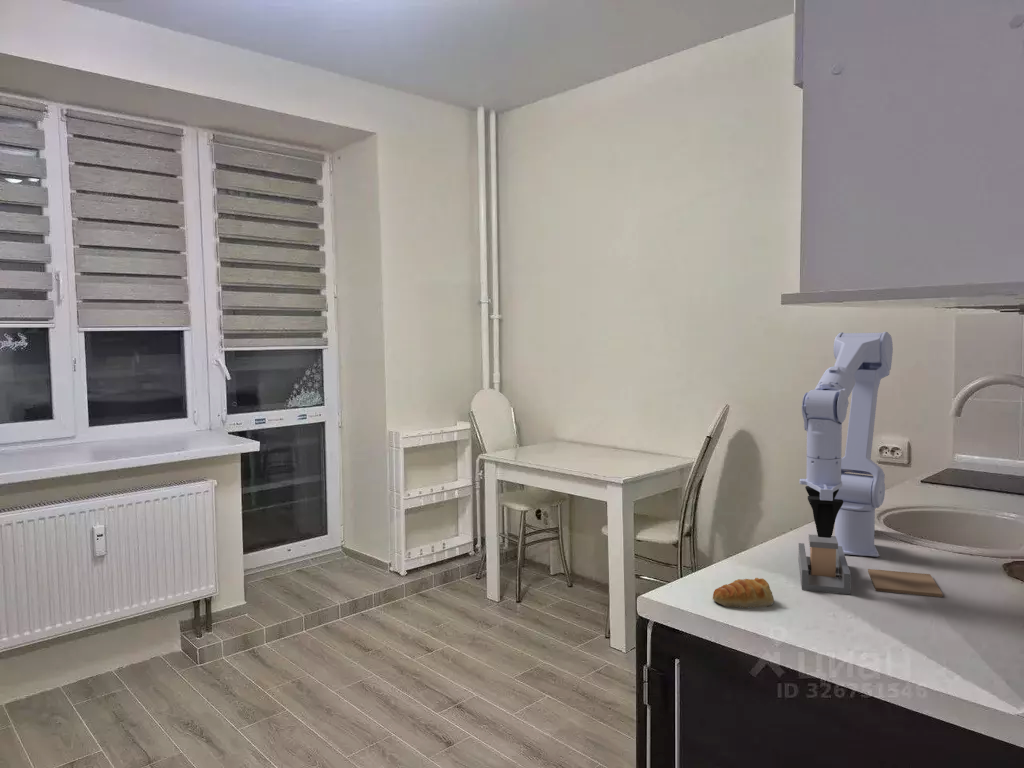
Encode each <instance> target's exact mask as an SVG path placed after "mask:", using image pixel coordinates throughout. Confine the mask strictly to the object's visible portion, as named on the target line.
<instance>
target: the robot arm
mask: <svg viewBox="0 0 1024 768" xmlns="http://www.w3.org/2000/svg"><path fill="white" fill-rule="evenodd" d="M893 349H894V348H893V337H892V336H891V334H890V333H889V332H888V331H883V332H844V331H843V332H839V333H838V334H837V335H836V336H835V338H834V341H833V357H834V359H835V362H834V364H833V365H834V366H830V367H828V368H827V369H826V370H825V371H824V373H823V374H822V375H821V377H820V379H819V381H818V383H817V384H816V386H815V388H814V389H810V390H809V391H808V392H805V393H804V394H803V397H802V402H801V403H802V404H801V414H802V418H803V428H804V431H806V475H805V476H806V478H799V485H802V486H803V485H806V486H805V492H807V494H808V495H807V502H808V503H809V505H810V508H811V510H812V515H813V521H814V524H815V529H816V535H818V537H825V538H831V536H833V533H834V536H836V538H837V542H838V546H842V549H843V552H844V555H849V556H850V555H852V556H862V557H863V556H864V557H875V558H877V557H879V556H880V554H879V551H878V549H877V548H876V545H875V527H876V526H875V524H876V520H875V519H876V509H878V508H880V507H881V506H882V505H883V503H884V500H885V495H886V484H885V479H886V478H885V477H886V476H885V472H884V470H883V468H882V467H881V466H879V465H878V464H877V463H876V462H875V461H873V460H872V459H871V458H872V448H873V441H874V431H875V430H874V429H875V421H876V420H875V419H876V410H877V402H878V392H879V388H880V384H881V380H882V379H884V378H886V377H888V376H889V375H890V373H891V372H890V371H891V370H892V364H893V363H892V362H893V353H894V351H893ZM850 395H851V396H850ZM849 397H851V399H850V403H849ZM849 404H850V407H849ZM848 407H849V415H848V423H847V425H848V426H847V433H846V434H847V435H846V441H845V443H846V444H845V452H844V456H843V457H842V448H843V447H842V443H843V442H842V439H843V437H842V434H843V431H842V429H843V423H844V422H845V420H846V418H847V414H848Z"/></svg>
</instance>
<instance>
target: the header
mask: <svg viewBox="0 0 1024 768" xmlns="http://www.w3.org/2000/svg"><path fill="white" fill-rule="evenodd" d="M797 558H798V568H799V577H800V586H801V590H802V591H811V592H823V593H833V594H843V595H851V581H852V580H851V578H852V577H851V576H852V574H851V571H850V568H849V565H848V561H847V559H846V558H847V557H846V554H844V552H843V549H842V546H838V549H836V574H838V577H837V576H836V577H827V576H816V575H811V574H809V571H810V556H807V552H806V546H805V543H803V542H802V543H801V542H798V557H797Z"/></svg>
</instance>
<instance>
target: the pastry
mask: <svg viewBox="0 0 1024 768" xmlns="http://www.w3.org/2000/svg"><path fill="white" fill-rule="evenodd" d="M712 600H713V601H714V602H716V603H717V604H719V605H722V606H724V607H728V608H740V607H741V609H748V607H752V608H765V607H766V606H767V607H771V606H772V605H773V603H774V602H775V598H774V595H773V591H772V589H771V588H770V585H769V583H768V581H767V580H766V579H764V578H759V577H755V578H754V579H753V578H751V579H750V578H745V579H744V578H743V579H736V580H734V581H731V582H730V583H729V584H728V583H727V584H723V585H721V586H720V587H717V588H715V589H714V591H713V595H712ZM770 605H771V606H770ZM742 607H743V608H742ZM767 607H766V608H767Z"/></svg>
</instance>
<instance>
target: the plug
mask: <svg viewBox="0 0 1024 768" xmlns="http://www.w3.org/2000/svg"><path fill="white" fill-rule="evenodd" d="M808 543H809V544H808V545H809V548H810V549H809V550H810V552H809V553H810V554H809V557H810V570H809V573H810V574H809V575H816V576H827V577H837V575H836V574H837V573H836V549H838V542H837V538H836V536H835V535H832V536H831V538H825V537H818V534H808Z"/></svg>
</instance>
